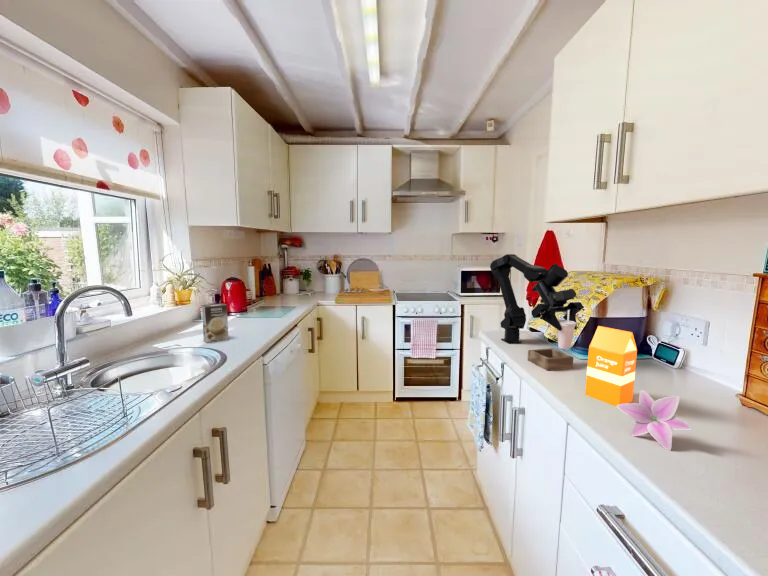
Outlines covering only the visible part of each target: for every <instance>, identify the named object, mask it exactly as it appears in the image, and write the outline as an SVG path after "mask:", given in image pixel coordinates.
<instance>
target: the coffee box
mask: <svg viewBox="0 0 768 576" xmlns="http://www.w3.org/2000/svg"><path fill="white" fill-rule="evenodd" d="M201 306H202V307H201V311H202V329H203V331H202V333H203V341H204V342H205V343H208V344H209V343H214V342H220V341H221V342H222V341H227V340H228V341H229V322H228V320H229V319H228V318H229V317H228V305H227V304H226V303H212V304H211V303H210V304H202V305H201Z"/></svg>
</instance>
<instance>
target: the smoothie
mask: <svg viewBox="0 0 768 576" xmlns="http://www.w3.org/2000/svg"><path fill="white" fill-rule="evenodd" d="M569 313H570V310H568V316H567V320H565V319H558V321H559V323H560V325H561V328H562V330H561V331H559V330H558V329H556V331H557V332H556V333H557V343H558V344H557V347H558V348H559V349H561V350H571V346H572V341H573V337H574V333H575V330H574V329H575V326H576V324H577V321H576V322H574V321H569Z"/></svg>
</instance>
